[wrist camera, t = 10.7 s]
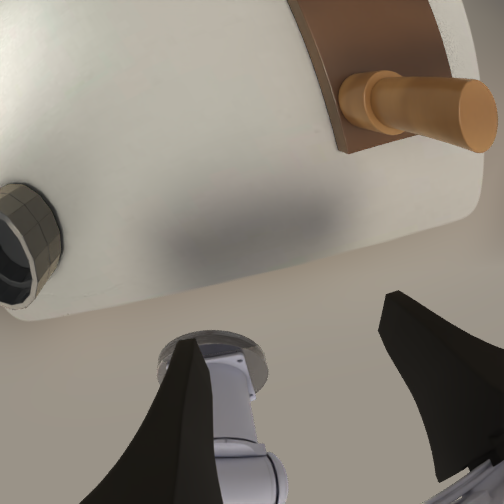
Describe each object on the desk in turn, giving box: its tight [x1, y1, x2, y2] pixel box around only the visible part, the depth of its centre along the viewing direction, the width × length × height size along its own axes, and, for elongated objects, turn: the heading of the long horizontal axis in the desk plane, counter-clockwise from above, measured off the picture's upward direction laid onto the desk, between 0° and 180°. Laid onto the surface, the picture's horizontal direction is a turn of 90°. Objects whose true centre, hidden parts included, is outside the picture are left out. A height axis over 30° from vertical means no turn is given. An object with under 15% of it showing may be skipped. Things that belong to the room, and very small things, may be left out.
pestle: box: [338, 70, 498, 153], centre depth 10 cm, size 4×4×9 cm
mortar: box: [0, 184, 61, 310], centre depth 14 cm, size 8×8×4 cm
